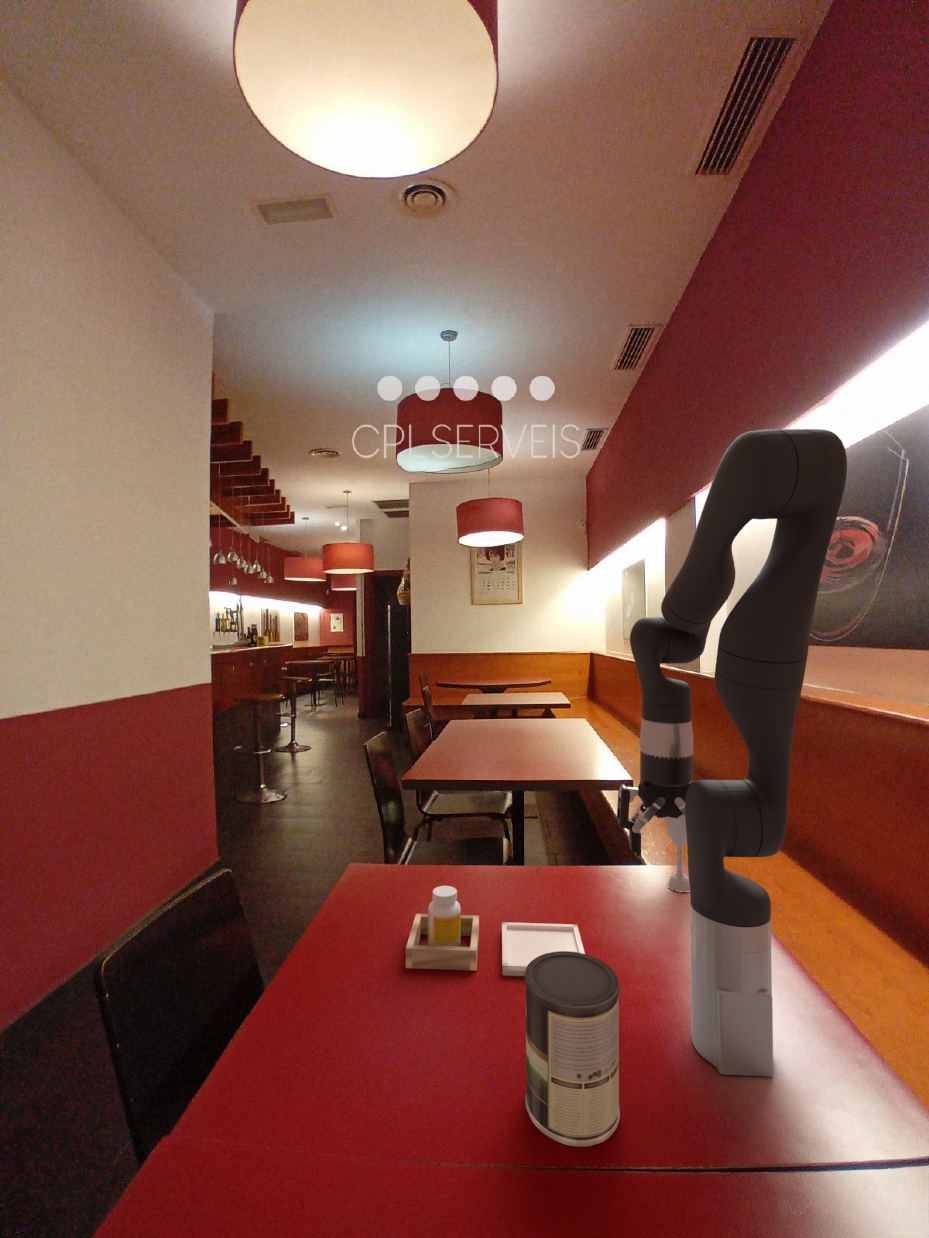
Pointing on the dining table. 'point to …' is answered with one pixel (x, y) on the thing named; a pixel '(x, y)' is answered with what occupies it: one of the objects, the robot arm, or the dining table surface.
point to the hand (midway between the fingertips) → (665, 855)
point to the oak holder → (443, 947)
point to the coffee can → (572, 1047)
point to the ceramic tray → (535, 943)
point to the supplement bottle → (444, 918)
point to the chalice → (678, 852)
